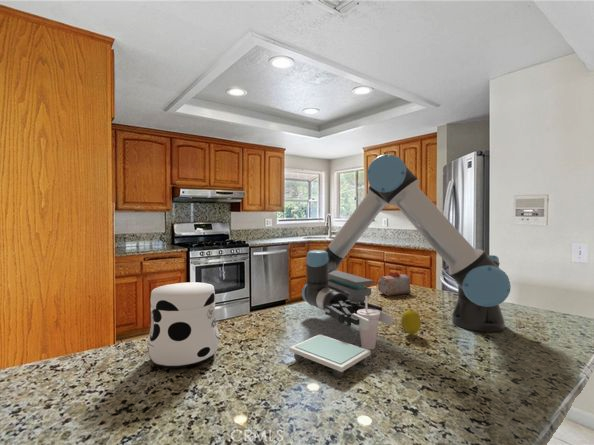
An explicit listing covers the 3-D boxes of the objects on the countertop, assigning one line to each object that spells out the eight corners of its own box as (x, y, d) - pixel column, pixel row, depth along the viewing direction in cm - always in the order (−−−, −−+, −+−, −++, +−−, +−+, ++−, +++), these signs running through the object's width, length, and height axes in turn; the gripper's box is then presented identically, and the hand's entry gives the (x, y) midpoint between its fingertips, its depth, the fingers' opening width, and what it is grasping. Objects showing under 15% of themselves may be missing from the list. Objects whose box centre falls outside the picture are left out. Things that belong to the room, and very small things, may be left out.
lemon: (422, 339, 96) (422, 312, 96) (402, 338, 97) (402, 311, 97) (419, 332, 102) (419, 306, 101) (400, 331, 103) (400, 305, 103)
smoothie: (354, 342, 94) (353, 293, 94) (375, 341, 95) (376, 293, 94) (360, 351, 88) (360, 299, 87) (383, 350, 88) (383, 299, 88)
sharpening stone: (373, 308, 128) (373, 280, 127) (356, 311, 124) (356, 282, 124) (337, 294, 150) (337, 270, 150) (322, 296, 147) (322, 271, 146)
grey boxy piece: (387, 297, 144) (387, 275, 144) (376, 293, 152) (376, 272, 151) (412, 294, 149) (412, 272, 149) (400, 290, 157) (400, 269, 156)
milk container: (232, 350, 89) (231, 284, 88) (186, 380, 73) (184, 300, 73) (183, 340, 96) (182, 279, 96) (131, 365, 81) (130, 292, 80)
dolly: (370, 364, 81) (370, 349, 81) (341, 382, 72) (341, 366, 72) (319, 346, 92) (319, 333, 91) (289, 360, 83) (289, 346, 83)
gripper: (357, 309, 112) (408, 330, 91) (305, 318, 103) (349, 344, 82) (357, 287, 112) (408, 303, 91) (305, 294, 102) (349, 314, 82)
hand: (380, 323), depth 87 cm, fingers open, 7 cm apart
